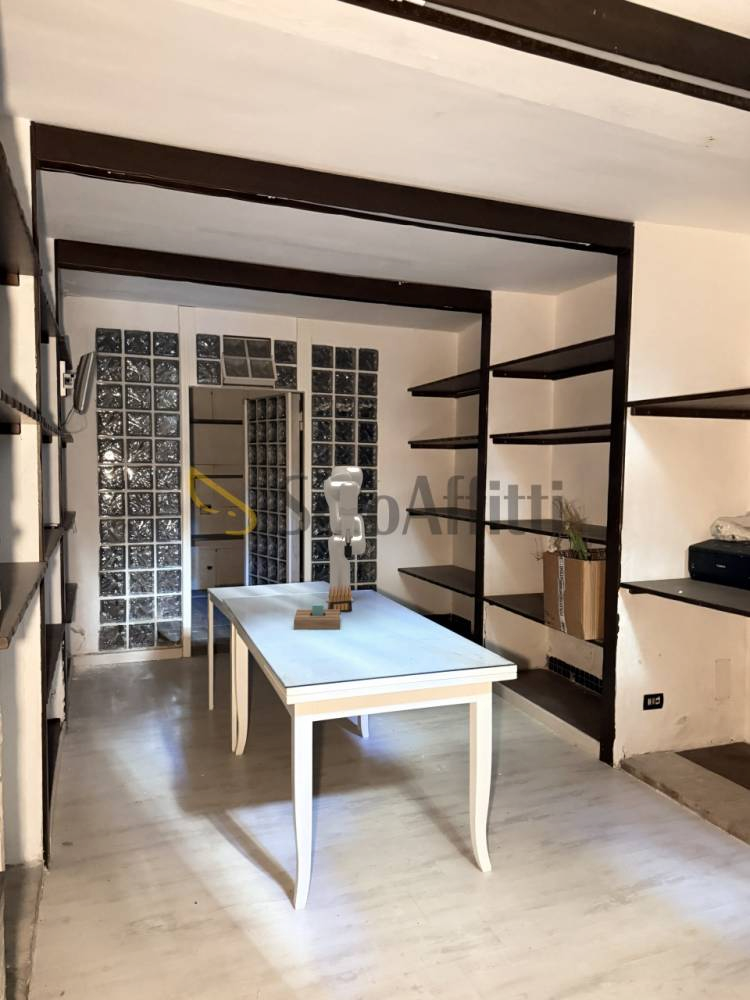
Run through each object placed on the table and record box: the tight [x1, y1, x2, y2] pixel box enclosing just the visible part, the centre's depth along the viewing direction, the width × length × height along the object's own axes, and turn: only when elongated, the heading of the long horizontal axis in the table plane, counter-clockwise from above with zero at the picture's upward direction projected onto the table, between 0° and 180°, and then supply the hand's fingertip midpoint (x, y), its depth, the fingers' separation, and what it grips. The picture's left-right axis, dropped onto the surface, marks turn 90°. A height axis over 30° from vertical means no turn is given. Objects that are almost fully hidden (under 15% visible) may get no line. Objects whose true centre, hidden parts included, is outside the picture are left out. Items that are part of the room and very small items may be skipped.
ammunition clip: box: [327, 584, 353, 613], centre depth 295 cm, size 11×2×12 cm, turn 114°
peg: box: [311, 602, 324, 616], centre depth 274 cm, size 4×4×8 cm
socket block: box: [293, 608, 341, 630], centre depth 273 cm, size 18×18×4 cm
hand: (348, 555), depth 286 cm, fingers closed
